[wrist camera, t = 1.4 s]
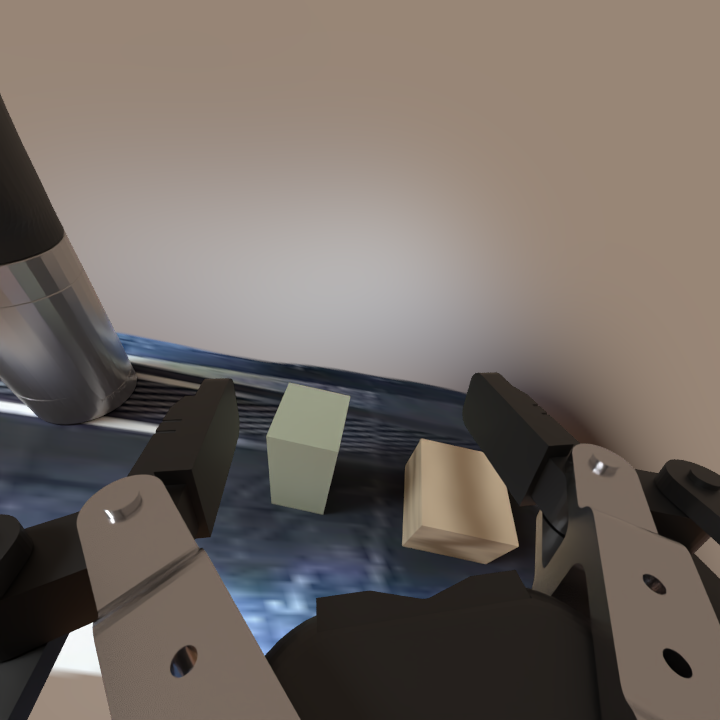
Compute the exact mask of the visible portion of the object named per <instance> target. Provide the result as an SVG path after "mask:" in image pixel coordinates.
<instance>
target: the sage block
mask: <svg viewBox="0 0 720 720" xmlns="http://www.w3.org/2000/svg"><path fill="white" fill-rule="evenodd" d="M349 400H350V396H347V395H343V394H338V393H334V392H329V391H325V390H321V389H316V388H312V387H307V386H303V385H298V384H294V383H289V384H288V386H287V389H286V391H285V393H284V396H283V398H282V401H281V403H280V405H279V408H278V410H277V412H276V415H275V417H274V419H273V422H272V424H271V427H270V429H269V431H268V434H267V436H266V438H267V450H268V463H269V476H270V489H271V501H272V504H277V505H281V506H286V507H290V508H295V509H300V510H304V511H309V512H313V513H318V514H323V513H324V509H325V505H326V501H327V497H328V493H329V489H330V484H331V480H332V476H333V472H334V468H335V464H336V460H337V456H338V452H339V447H340V442H341V438H342V433H343V428H344V424H345V419H346V414H347V410H348V405H349Z"/></svg>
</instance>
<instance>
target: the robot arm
mask: <svg viewBox="0 0 720 720" xmlns="http://www.w3.org/2000/svg"><path fill="white" fill-rule="evenodd" d="M0 380H1V381H2V382H3V383H4V384H5V385H6V386H7V387H8V388H9V389H10V390H11V391H12V392H13V393H14V394H15V395H16V396H17V397H18V398H19V399H20V400H21V401H22V402H24V403H25V404H26V405H27V406H28V407H29V408H30V409H31V410H32V411H33V412H34V413H35V414H36V415H37V416H38V417H39V418H40V419H42V420H44V421H46V422H50V423H54V424H75V423H81V422H86V421H90V420H93V419H96V418H98V417H101V416H103V415H105V414H107V413H109V412H111V411H113V410H114V409H116V408H117V407H119V406H120V405H122V404H123V403H124V402H125V401H126V400H127V399H128V398H129V397H130V395H131V394H132V393H133V391H134V389H135V387H136V384H137V376H136V373H135V371H134V369H133V367H132V365H131V363H130V361H129V359H128V357H127V355H126V353H125V351H124V348H123V346H122V344H121V342H120V340H119V338H118V336H117V334H116V332H115V330H114V328H113V326H112V324H111V322H110V320H109V318H108V316H107V314H106V312H105V310H104V308H103V306H102V304H101V302H100V300H99V299H98V296H97V295H96V292H95V291H94V288H93V286H92V284H91V282H90V281H89V278H88V276H87V274H86V273H85V270H84V268H83V266H82V264H81V263H80V261H79V259H78V257H77V255H76V253H75V251H74V249H73V247H72V245H71V243H70V241H69V239H68V237H67V235H66V233H65V231H64V229H63V226H62V225H61V223H60V221H59V219H58V217H57V215H56V213H55V211H54V209H53V207H52V205H51V203H50V200H49V198H48V196H47V194H46V192H45V190H44V187H43V185H42V183H41V181H40V179H39V177H38V175H37V173H36V171H35V169H34V167H33V165H32V163H31V160H30V158H29V156H28V154H27V152H26V150H25V148H24V146H23V144H22V142H21V140H20V137H19V136H18V133H17V131H16V129H15V127H14V124H13V122H12V120H11V117H10V116H9V113H8V111H7V109H6V106H5V104H4V102H3V99H2V97H1V95H0ZM462 414H463V421H464V424H465V426H466V428H467V429H468V431H469V432H470V434H471V435H472V436H473V438H474V439H475V441H476V442H477V444H478V445H479V447H480V448H481V450H482V451H483V453H484V454H485V456H486V457H487V459H488V460H489V462H490V463H491V465H492V466H493V468H494V469H495V471H496V472H497V474H498V475H499V477H500V478H501V480H502V481H503V482H504V484H505V485H506V487H507V488H508V490H509V491H510V493H511V494H512V496H513V497H514V499H515V500H516V502H517V503H518V505H519V506H528V505H537V506H538V507H539V508H540V511H539V513H538V515H537V519H536V552H535V577H534V582H533V586H532V589H529V588H525V586H524V585H523V583H522V581H521V579H520V577H519V575H518V574H517V572H516V570H512V571H505V572H498V573H490V574H483V575H476V576H470V577H468V578H466V579H465V580H463V581H461V582H459V583H457V584H455V585H453V586H451V587H449V588H447V589H446V590H444V591H442V592H440V593H438V594H436V595H434V596H432V597H430V598H427V599H419V598H413V597H406V596H400V595H394V594H388V593H381V592H375V591H363V592H356V593H349V594H342V595H335V596H328V597H321V598H316V614H317V615H316V616H314V617H312V618H310V619H308V620H306V621H304V622H303V623H301V624H300V625H298V626H297V627H295V628H294V629H292V630H291V631H290V632H289V633H287V634H286V635H285V636H284V637H283V638H282V639H280V640H279V641H278V642H277V643H276V644H275V645H274V646H273V647H272V649H271V650H270V651H269V652H268V653H267V654H266V655H265V656H264V654H263V652H262V650H261V649H260V647H259V645H258V643H257V642H256V640H255V638H254V636H253V635H252V633H251V631H250V629H249V627H248V626H247V624H246V622H245V620H244V619H243V617H242V615H241V613H240V611H239V610H238V608H237V606H236V604H235V603H234V601H233V599H232V597H231V595H230V594H229V592H228V590H227V588H226V587H225V585H224V583H223V581H222V580H221V578H220V576H219V574H218V572H217V571H216V569H215V567H214V565H213V564H212V562H211V560H210V558H209V557H208V555H207V553H206V552H205V551H204V549H203V548H200V549H199V547H198V546H197V544H196V542H195V539H197V538H206V537H211V534H212V530H213V526H214V523H215V519H216V516H217V512H218V508H219V505H220V501H221V498H222V494H223V491H224V487H225V483H226V480H227V476H228V473H229V469H230V465H231V462H232V458H233V455H234V451H235V447H236V444H237V440H238V436H239V414H238V408H237V401H236V395H235V389H234V383H233V380H232V379H231V378H225V379H204V380H203V382H202V384H201V386H200V388H199V389H198V391H197V393H196V395H195V396H185V397H183V398H182V399H181V400H179V401H178V402H177V403H176V404H174V405H173V406H172V407H171V408H170V409H169V411H168V412H167V414H166V416H165V417H164V419H163V423H160V425H159V427H158V428H157V430H156V434H154V435H153V436H152V438H151V439H150V441H149V443H148V444H147V446H146V447H145V449H144V450H143V452H142V454H141V455H140V457H139V458H138V460H137V462H136V463H135V465H134V466H133V468H132V470H131V471H130V473H129V474H128V476H127V477H126V478H122V479H120V480H117V481H115V482H113V483H111V484H109V485H107V486H106V487H104V488H102V489H101V490H99V491H98V492H97V493H95V494H94V495H93V496H92V497H91V498H90V499H89V500H88V501H87V502H86V503H85V504H84V506H83V507H82V509H81V510H80V511H79V512H76V513H74V514H71V515H67V516H64V517H61V518H58V519H55V520H51V521H48V522H45V523H42V524H39V525H35V526H32V527H29V528H26V529H24V528H23V527H22V525H21V524H20V523H19V521H18V520H17V519H16V518H15V517H13V516H10V515H2V514H1V515H0V720H27V719H28V717H29V715H30V713H31V711H32V709H33V707H34V705H35V703H36V701H37V698H38V696H39V694H40V692H41V690H42V688H43V686H44V684H45V682H46V680H47V678H48V676H49V674H50V672H51V670H52V668H53V666H54V663H55V661H56V659H57V657H58V655H59V653H60V651H61V649H62V647H63V645H64V643H65V641H66V639H67V637H68V635H69V633H70V632H72V631H74V630H77V629H79V628H81V627H83V626H86V625H88V624H90V623H92V622H93V636H94V642H95V647H96V651H97V656H98V660H99V665H100V669H101V674H102V678H103V683H104V687H105V692H106V696H107V701H108V705H109V710H110V714H111V719H112V720H720V579H719V578H718V577H717V576H716V575H715V574H714V573H713V572H712V571H711V570H710V569H709V568H708V567H707V566H706V565H705V564H704V563H703V562H702V561H701V560H700V559H699V558H698V557H697V556H696V555H695V554H694V553H695V552H696V551H697V550H698V549H699V548H700V547H701V546H702V545H703V544H704V543H705V542H706V541H707V540H708V539H709V538H710V537H712V538H713V539H714V540H715V541H716V542H717V543H718V544H719V545H720V475H718V474H717V473H715V472H713V471H711V470H709V469H707V468H705V467H703V466H700V465H697V464H695V463H692V462H688V461H684V460H675V459H674V460H669V461H668V462H667V463H666V464H665V465H664V466H663V468H662V469H661V470H660V472H659V473H654V472H648V471H642V470H637V469H634V468H633V467H632V466H631V465H630V464H629V463H628V462H627V461H626V460H624V459H623V458H622V457H620V456H619V455H617V454H615V453H613V452H612V451H610V450H607V449H605V448H602V447H600V446H596V445H592V444H580V443H579V442H578V441H577V440H576V439H575V438H574V437H573V436H572V435H570V434H569V433H568V432H567V431H566V430H565V429H564V428H563V427H562V426H561V425H560V424H558V423H557V422H556V421H555V420H554V419H553V418H552V417H551V416H550V415H547V413H546V411H544V410H543V409H542V408H541V407H540V406H538V404H537V403H536V402H535V401H534V400H533V399H531V398H530V397H529V396H528V395H527V394H525V393H524V392H522V391H520V390H519V389H517V388H515V387H513V386H512V385H511V384H510V383H509V382H508V381H506V379H505V378H504V377H503V376H502V375H500V374H499V373H475V374H474V375H473V376H472V378H471V381H470V385H469V389H468V392H467V396H466V399H465V403H464V406H463V413H462Z"/></svg>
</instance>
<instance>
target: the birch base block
mask: <svg viewBox="0 0 720 720" xmlns="http://www.w3.org/2000/svg"><path fill="white" fill-rule="evenodd" d="M402 546H404V547H409V548H414V549H418V550H423V551H428V552H432V553H437V554H441V555H446V556H451V557H455V558H460V559H465V560H469V561H474V562H478V563H483V564H487V563H489V562H491V561H493V560H494V559H496V558H498V557H500V556H502V555H504V554H506V553H508V552H509V551H511V550H513V549H515V548H517V547H519V544H518V539H517V534H516V530H515V525H514V520H513V515H512V511H511V506H510V501H509V497H508V492H507V487H506V485H505V484H504V482H503V481H502V480H501V478H500V477H499V475H498V474H497V472H496V471H495V469H494V468H493V466H492V465H491V463H490V462H489V460H488V459H487V457H486V456H485V454H484V453H483V452H480V451H475V450H471V449H466V448H462V447H457V446H453V445H448V444H444V443H439V442H435V441H430V440H426V439H421V440H420V442H419V443H418V445H417V447H416V449H415V450H414V452H413V454H412V455H411V457H410V459H409V460H408V462H407V464H406V466H405V485H404V513H403V540H402Z"/></svg>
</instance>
